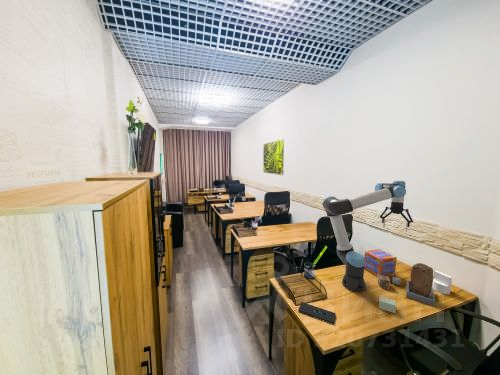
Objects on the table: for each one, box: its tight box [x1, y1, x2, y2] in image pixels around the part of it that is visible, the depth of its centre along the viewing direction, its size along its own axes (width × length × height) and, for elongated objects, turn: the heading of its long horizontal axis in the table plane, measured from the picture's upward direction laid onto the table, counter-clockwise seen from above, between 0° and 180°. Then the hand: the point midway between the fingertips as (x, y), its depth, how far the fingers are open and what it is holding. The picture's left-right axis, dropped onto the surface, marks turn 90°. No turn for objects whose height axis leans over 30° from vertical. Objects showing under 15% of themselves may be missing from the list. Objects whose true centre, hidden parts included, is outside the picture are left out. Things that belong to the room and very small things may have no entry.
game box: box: [363, 248, 397, 278], centre depth 161 cm, size 16×16×16 cm
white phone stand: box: [432, 270, 453, 295], centre depth 138 cm, size 9×9×12 cm
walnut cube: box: [377, 275, 391, 290], centre depth 144 cm, size 6×6×6 cm
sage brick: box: [378, 296, 397, 314], centre depth 121 cm, size 8×5×5 cm, turn 59°
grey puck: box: [391, 276, 402, 286], centre depth 146 cm, size 5×5×4 cm
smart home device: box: [298, 301, 337, 325], centre depth 117 cm, size 8×2×20 cm
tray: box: [405, 279, 436, 307], centre depth 134 cm, size 14×17×4 cm
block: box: [409, 262, 434, 297], centre depth 133 cm, size 11×8×20 cm
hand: (394, 229), depth 150 cm, fingers open, 13 cm apart
